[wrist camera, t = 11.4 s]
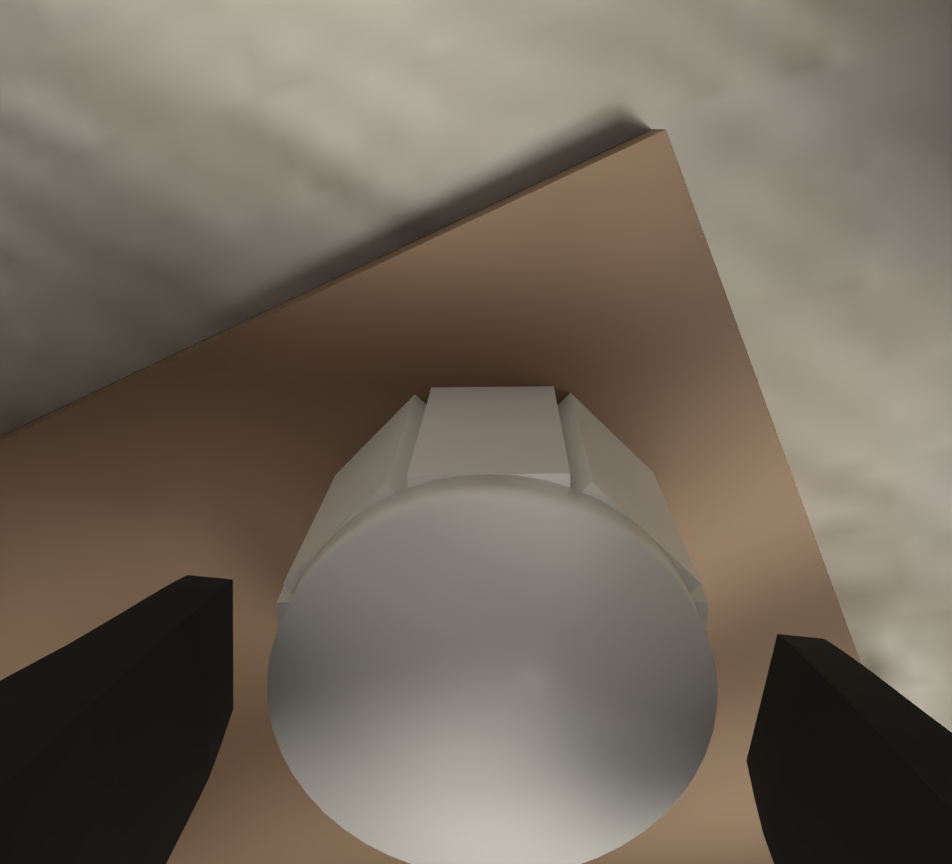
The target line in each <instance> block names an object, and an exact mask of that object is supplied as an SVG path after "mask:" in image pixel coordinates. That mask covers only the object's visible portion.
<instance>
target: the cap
mask: <svg viewBox="0 0 952 864" xmlns="http://www.w3.org/2000/svg"><path fill="white" fill-rule="evenodd" d="M283 585H284V587H283V589H282V592H281V594H280V596H279V598H278V600H277V602H276V605H277V614H278V623H279V627H278V630H277V632H276V635H275V639H274V643H273V646H272V650H271V654H270V658H269V667H268V676H267V694H268V708H269V713H270V718H271V723H272V728H273V731H274V734H275V737H276V740H277V742H278V745H279V748H280V751H281V753H282V755H283V757H284V759H285V761H286V763H287V764H288V766H289V768H290V770H291V772H292V774H293V775H294V777H295V778H296V780H297V781H298V782H299V784H300V785H301V786H302V788H303V789H304V791H305V792H306V793H307V795H308V796H309V797H310V798H311V799H312V800H313V801H314V802H315V803H316V804H317V805H318V807H319V808H320V809H321V810H322V811H323V812H324V813H325V814H326V815H328V816H329V817H330V818H331V819H332V820H334V821H335V822H336V823H337V824H338V825H339V826H341V827H342V828H343V829H344V830H346V831H347V832H349V833H350V834H352V835H353V836H355V837H356V838H358V839H359V840H361V841H363V842H364V843H366V844H367V845H369V846H371V847H373V848H375V849H377V850H379V851H381V852H383V853H385V854H387V855H389V856H392V857H394V858H397V859H399V860H402V861H405V862H407V863H410V864H582V863H585V862H588V861H590V860H593V859H596V858H598V857H600V856H602V855H604V854H606V853H608V852H610V851H613V850H615V849H617V848H619V847H621V846H622V845H624V844H625V843H627V842H629V841H630V840H632V839H633V838H635V837H636V836H638V835H639V834H641V833H642V832H644V831H645V830H646V829H647V828H649V827H650V826H651V825H652V824H653V823H655V822H656V821H657V820H658V819H659V818H661V817H662V816H663V815H664V814H665V813H666V812H667V811H668V809H669V808H670V807H671V806H672V805H673V804H674V803H675V802H676V801H677V800H678V799H679V798H680V796H681V795H682V793H683V792H684V791H685V789H686V788H687V786H688V785H689V784H690V782H691V781H692V779H693V778H694V776H695V774H696V772H697V770H698V768H699V766H700V764H701V763H702V761H703V759H704V757H705V755H706V752H707V749H708V746H709V743H710V740H711V737H712V734H713V730H714V724H715V718H716V712H717V697H718V681H717V674H716V668H715V661H714V656H713V653H712V649H711V646H710V643H709V640H708V637H707V633H706V628H707V616H708V604H709V602H708V600H707V597H706V595H705V593H704V590H703V588H702V586H701V582H700V580H699V577H698V575H697V573H696V570H695V568H694V566H693V563H692V561H691V559H690V556H689V554H688V552H687V549H686V547H685V545H684V542H683V540H682V538H681V535H680V533H679V531H678V528H677V526H676V524H675V521H674V519H673V517H672V515H671V512H670V510H669V508H668V505H667V503H666V501H665V498H664V496H663V494H662V491H661V489H660V487H659V484H658V482H657V480H656V477H655V475H654V473H653V472H652V471H651V470H650V469H649V468H648V467H647V466H646V465H645V464H644V463H643V462H642V461H641V460H640V459H639V458H638V457H637V456H636V455H635V454H634V453H633V452H632V451H631V450H630V449H629V448H627V447H626V446H625V445H624V444H623V443H622V442H621V441H620V440H619V439H618V438H617V437H616V436H615V435H614V434H613V433H612V432H611V431H610V430H609V429H608V428H607V427H606V426H605V425H604V424H603V423H601V422H600V421H599V420H598V419H597V418H596V417H595V416H594V415H593V414H592V413H591V412H590V411H589V410H588V409H587V408H586V407H585V406H584V405H583V404H582V403H581V402H580V401H579V400H578V399H577V398H575V397H574V396H573V395H572V394H571V393H570V394H569V395H568V396H567V397H566V398H564V399H563V400H562V401H561V402H560V403H559V404H558V405H557V400H556V395H555V390H554V386H530V387H431V390H430V394H429V398H428V401H427V405H426V404H425V403H424V402H423V401H422V400H421V399H420V398H419V397H418V396H416V395H414V396H413V397H412V398H411V399H410V400H409V401H408V402H407V403H406V404H405V405H404V406H403V407H402V408H401V409H400V410H399V411H398V412H397V413H396V414H395V415H394V416H393V417H392V418H391V419H390V420H389V421H388V422H387V423H386V424H385V425H384V426H383V427H382V428H381V429H380V430H379V431H378V432H377V433H376V434H375V435H374V436H373V437H372V438H371V439H370V440H369V441H368V442H367V443H366V444H365V445H364V446H363V447H362V448H361V449H360V450H359V451H358V452H357V453H356V454H355V456H354V457H353V458H352V459H351V460H350V461H349V462H348V463H347V464H346V465H345V466H344V467H343V468H342V469H341V470H340V471H339V472H338V473H337V474H336V475H335V477H334V479H333V481H332V484H331V486H330V488H329V490H328V492H327V494H326V496H325V498H324V500H323V502H322V504H321V506H320V508H319V510H318V512H317V515H316V517H315V519H314V521H313V523H312V525H311V527H310V529H309V531H308V533H307V535H306V537H305V539H304V541H303V543H302V546H301V548H300V550H299V552H298V554H297V556H296V558H295V560H294V562H293V564H292V566H291V568H290V570H289V572H288V574H287V577H286V579H285V581H284V583H283Z"/></svg>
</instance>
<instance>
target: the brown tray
mask: <svg viewBox="0 0 952 864" xmlns="http://www.w3.org/2000/svg"><path fill="white" fill-rule="evenodd" d="M530 386H554V390H555V395H556V400H557V405H558V404H559V403H560V402H561V401H562V400H563V399H564V398H566V397H567V396H568V395H569V394H570V393H571V394H572V395H573V396H574V397H575V398H577V399H578V400H579V401H580V402H581V403H582V404H583V405H584V406H585V407H586V408H587V409H588V410H589V411H590V412H591V413H592V414H593V415H594V416H595V417H596V418H597V419H598V420H599V421H600V422H601V423H603V424H604V425H605V426H606V427H607V428H608V429H609V430H610V431H611V432H612V433H613V434H614V435H615V436H616V437H617V438H618V439H619V440H620V441H621V442H622V443H623V444H624V445H625V446H626V447H627V448H629V449H630V450H631V451H632V452H633V453H634V454H635V455H636V456H637V457H638V458H639V459H640V460H641V461H642V462H643V463H644V464H645V465H646V466H647V467H648V468H649V469H650V470H651V471H652V472H653V473H654V475H655V477H656V480H657V482H658V484H659V487H660V489H661V491H662V494H663V496H664V498H665V501H666V503H667V505H668V508H669V510H670V512H671V515H672V517H673V519H674V521H675V524H676V526H677V528H678V531H679V533H680V535H681V538H682V540H683V542H684V545H685V547H686V549H687V552H688V554H689V556H690V559H691V561H692V563H693V566H694V568H695V570H696V573H697V575H698V577H699V580H700V582H701V586H702V588H703V590H704V593H705V595H706V597H707V600H708V602H709V604H708V616H707V628H706V633H707V637H708V640H709V643H710V646H711V649H712V653H713V656H714V661H715V668H716V674H717V681H718V697H717V712H716V718H715V724H714V730H713V734H712V737H711V740H710V743H709V746H708V749H707V752H706V755H705V757H704V759H703V761H702V763H701V764H700V766H699V768H698V770H697V772H696V774H695V776H694V778H693V779H692V781H691V782H690V784H689V785H688V786H687V788H686V789H685V791H684V792H683V793H682V795H681V796H680V798H679V799H678V800H677V801H676V802H675V803H674V804H673V805H672V806H671V807H670V808H669V809H668V811H667V812H666V813H665V814H664V815H663V816H662V817H661V818H659V819H658V820H657V821H656V822H655V823H653V824H652V825H651V826H650V827H649V828H647V829H646V830H645V831H644V832H642V833H641V834H639V835H638V836H636V837H635V838H633V839H632V840H630V841H629V842H627V843H625V844H624V845H622V846H621V847H619V848H617V849H615V850H613V851H610V852H608V853H606V854H604V855H602V856H600V857H598V858H596V859H593V860H590V861H588V862H585V863H582V864H774V862H773V860H772V857H771V854H770V851H769V849H768V846H767V843H766V840H765V837H764V835H763V831H762V827H761V823H760V819H759V815H758V811H757V807H756V803H755V798H754V794H753V789H752V784H751V780H750V775H749V770H748V766H747V761H746V760H747V756H748V752H749V748H750V744H751V740H752V736H753V732H754V728H755V723H756V719H757V715H758V711H759V707H760V703H761V699H762V695H763V691H764V687H765V683H766V678H767V674H768V670H769V666H770V662H771V658H772V654H773V650H774V646H775V642H776V638H777V634H783V635H793V636H803V637H813V638H823V639H825V640H827V641H829V642H830V643H832V644H833V645H835V646H836V647H838V648H839V649H841V650H842V651H844V652H845V653H847V654H848V655H849V656H851V657H852V658H854V659H855V660H856V661H858V662H859V663H860V660H859V657H858V655H857V652H856V649H855V646H854V644H853V641H852V638H851V635H850V633H849V630H848V627H847V625H846V622H845V619H844V616H843V614H842V611H841V608H840V605H839V603H838V600H837V597H836V594H835V592H834V589H833V586H832V584H831V581H830V578H829V575H828V573H827V570H826V567H825V564H824V562H823V559H822V556H821V553H820V551H819V548H818V545H817V543H816V540H815V537H814V534H813V532H812V529H811V526H810V523H809V521H808V518H807V515H806V512H805V510H804V507H803V504H802V501H801V499H800V496H799V493H798V491H797V488H796V485H795V482H794V480H793V477H792V474H791V471H790V469H789V466H788V463H787V460H786V458H785V455H784V452H783V450H782V447H781V444H780V441H779V439H778V436H777V433H776V430H775V428H774V425H773V422H772V419H771V417H770V414H769V411H768V409H767V406H766V403H765V400H764V398H763V395H762V392H761V389H760V387H759V384H758V381H757V378H756V376H755V373H754V370H753V367H752V365H751V362H750V359H749V357H748V354H747V351H746V348H745V346H744V343H743V340H742V337H741V335H740V332H739V329H738V326H737V324H736V321H735V318H734V316H733V313H732V310H731V307H730V305H729V302H728V299H727V296H726V294H725V291H724V288H723V285H722V283H721V280H720V277H719V275H718V272H717V269H716V266H715V264H714V261H713V258H712V255H711V253H710V250H709V247H708V244H707V242H706V239H705V236H704V233H703V231H702V228H701V225H700V223H699V220H698V217H697V214H696V212H695V209H694V206H693V203H692V201H691V198H690V195H689V192H688V190H687V187H686V184H685V182H684V179H683V176H682V173H681V171H680V168H679V165H678V162H677V160H676V157H675V154H674V151H673V149H672V146H671V143H670V141H669V138H668V135H667V132H666V130H661V129H652V130H650V131H648V132H645V133H643V134H641V135H639V136H637V137H635V138H633V139H631V140H628V141H626V142H624V143H622V144H620V145H618V146H616V147H614V148H611V149H609V150H607V151H605V152H603V153H601V154H599V155H597V156H594V157H592V158H590V159H588V160H586V161H584V162H582V163H580V164H577V165H575V166H573V167H571V168H569V169H567V170H565V171H563V172H560V173H558V174H556V175H554V176H552V177H550V178H548V179H546V180H543V181H541V182H539V183H537V184H535V185H533V186H531V187H529V188H526V189H524V190H522V191H520V192H518V193H516V194H514V195H512V196H509V197H507V198H505V199H503V200H501V201H499V202H497V203H495V204H492V205H490V206H488V207H486V208H484V209H482V210H480V211H478V212H476V213H473V214H471V215H469V216H467V217H465V218H463V219H461V220H459V221H456V222H454V223H452V224H450V225H448V226H446V227H444V228H442V229H439V230H437V231H435V232H433V233H431V234H429V235H427V236H425V237H422V238H420V239H418V240H416V241H414V242H412V243H410V244H408V245H405V246H403V247H401V248H399V249H397V250H395V251H393V252H391V253H388V254H386V255H384V256H382V257H380V258H378V259H376V260H374V261H371V262H369V263H367V264H365V265H363V266H361V267H359V268H357V269H354V270H352V271H350V272H348V273H346V274H344V275H342V276H340V277H337V278H335V279H333V280H331V281H329V282H327V283H325V284H323V285H320V286H318V287H316V288H314V289H312V290H310V291H308V292H306V293H304V294H301V295H299V296H297V297H295V298H293V299H291V300H289V301H287V302H284V303H282V304H280V305H278V306H276V307H274V308H272V309H270V310H267V311H265V312H263V313H261V314H259V315H257V316H255V317H253V318H250V319H248V320H246V321H244V322H242V323H240V324H238V325H236V326H233V327H231V328H229V329H227V330H225V331H223V332H221V333H219V334H216V335H214V336H212V337H210V338H208V339H206V340H204V341H202V342H199V343H197V344H195V345H193V346H191V347H189V348H187V349H185V350H182V351H180V352H178V353H176V354H174V355H172V356H170V357H168V358H165V359H163V360H161V361H159V362H157V363H155V364H153V365H151V366H148V367H146V368H144V369H142V370H140V371H138V372H136V373H134V374H132V375H129V376H127V377H125V378H123V379H121V380H119V381H117V382H115V383H112V384H110V385H108V386H106V387H104V388H102V389H100V390H98V391H95V392H93V393H91V394H89V395H87V396H85V397H83V398H81V399H78V400H76V401H74V402H72V403H70V404H68V405H66V406H64V407H61V408H59V409H57V410H55V411H53V412H51V413H49V414H47V415H44V416H42V417H40V418H38V419H36V420H34V421H32V422H30V423H27V424H25V425H23V426H21V427H19V428H17V429H15V430H13V431H10V432H8V433H6V434H4V435H2V436H0V680H2V679H4V678H6V677H8V676H10V675H11V674H13V673H15V672H17V671H19V670H21V669H23V668H25V667H26V666H28V665H30V664H32V663H34V662H36V661H38V660H40V659H41V658H43V657H45V656H47V655H49V654H51V653H53V652H55V651H56V650H58V649H60V648H62V647H64V646H66V645H68V644H69V643H71V642H73V641H75V640H76V639H78V638H80V637H81V636H83V635H85V634H86V633H88V632H90V631H92V630H93V629H95V628H97V627H98V626H100V625H102V624H103V623H105V622H107V621H109V620H110V619H112V618H114V617H115V616H117V615H119V614H120V613H122V612H124V611H125V610H127V609H129V608H130V607H132V606H134V605H135V604H137V603H139V602H140V601H142V600H144V599H145V598H147V597H149V596H150V595H152V594H154V593H155V592H157V591H159V590H160V589H162V588H164V587H166V586H167V585H169V584H171V583H173V582H174V581H176V580H178V579H180V578H182V577H184V576H186V575H193V576H203V577H213V578H223V579H233V712H232V715H231V718H230V720H229V723H228V726H227V729H226V732H225V735H224V738H223V741H222V744H221V747H220V750H219V752H218V755H217V758H216V761H215V763H214V766H213V769H212V771H211V774H210V777H209V779H208V781H207V783H206V785H205V787H204V789H203V791H202V794H201V796H200V798H199V800H198V802H197V804H196V806H195V808H194V810H193V812H192V814H191V816H190V818H189V820H188V822H187V824H186V826H185V828H184V830H183V832H182V834H181V835H180V837H179V839H178V841H177V843H176V845H175V847H174V849H173V851H172V853H171V855H170V857H169V859H168V861H167V863H166V864H410V863H407V862H405V861H402V860H399V859H397V858H394V857H392V856H389V855H387V854H385V853H383V852H381V851H379V850H377V849H375V848H373V847H371V846H369V845H367V844H366V843H364V842H363V841H361V840H359V839H358V838H356V837H355V836H353V835H352V834H350V833H349V832H347V831H346V830H344V829H343V828H342V827H341V826H339V825H338V824H337V823H336V822H335V821H334V820H332V819H331V818H330V817H329V816H328V815H326V814H325V813H324V812H323V811H322V810H321V809H320V808H319V807H318V805H317V804H316V803H315V802H314V801H313V800H312V799H311V798H310V797H309V796H308V795H307V793H306V792H305V791H304V789H303V788H302V786H301V785H300V784H299V782H298V781H297V780H296V778H295V777H294V775H293V774H292V772H291V770H290V768H289V766H288V764H287V763H286V761H285V759H284V757H283V755H282V753H281V751H280V748H279V745H278V742H277V740H276V737H275V734H274V731H273V728H272V723H271V718H270V713H269V708H268V694H267V676H268V667H269V658H270V654H271V650H272V646H273V643H274V639H275V635H276V632H277V630H278V627H279V623H278V614H277V605H276V602H277V600H278V598H279V596H280V594H281V592H282V589H283V587H284V585H283V583H284V581H285V579H286V577H287V574H288V572H289V570H290V568H291V566H292V564H293V562H294V560H295V558H296V556H297V554H298V552H299V550H300V548H301V546H302V543H303V541H304V539H305V537H306V535H307V533H308V531H309V529H310V527H311V525H312V523H313V521H314V519H315V517H316V515H317V512H318V510H319V508H320V506H321V504H322V502H323V500H324V498H325V496H326V494H327V492H328V490H329V488H330V486H331V484H332V481H333V479H334V477H335V475H336V474H337V473H338V472H339V471H340V470H341V469H342V468H343V467H344V466H345V465H346V464H347V463H348V462H349V461H350V460H351V459H352V458H353V457H354V456H355V454H356V453H357V452H358V451H359V450H360V449H361V448H362V447H363V446H364V445H365V444H366V443H367V442H368V441H369V440H370V439H371V438H372V437H373V436H374V435H375V434H376V433H377V432H378V431H379V430H380V429H381V428H382V427H383V426H384V425H385V424H386V423H387V422H388V421H389V420H390V419H391V418H392V417H393V416H394V415H395V414H396V413H397V412H398V411H399V410H400V409H401V408H402V407H403V406H404V405H405V404H406V403H407V402H408V401H409V400H410V399H411V398H412V397H413V396H414V395H416V396H418V397H419V398H420V399H421V400H422V401H423V402H424V403H425V404H426V405H427V401H428V398H429V394H430V390H431V387H530ZM860 664H861V663H860Z"/></svg>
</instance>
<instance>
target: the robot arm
mask: <svg viewBox="0 0 952 864" xmlns="http://www.w3.org/2000/svg"><path fill="white" fill-rule="evenodd" d="M232 712H233V579H223V578H213V577H203V576H193V575H186V576H184V577H182V578H180V579H178V580H176V581H174V582H173V583H171V584H169V585H167V586H166V587H164V588H162V589H160V590H159V591H157V592H155V593H154V594H152V595H150V596H149V597H147V598H145V599H144V600H142V601H140V602H139V603H137V604H135V605H134V606H132V607H130V608H129V609H127V610H125V611H124V612H122V613H120V614H119V615H117V616H115V617H114V618H112V619H110V620H109V621H107V622H105V623H103V624H102V625H100V626H98V627H97V628H95V629H93V630H92V631H90V632H88V633H86V634H85V635H83V636H81V637H80V638H78V639H76V640H75V641H73V642H71V643H69V644H68V645H66V646H64V647H62V648H60V649H58V650H56V651H55V652H53V653H51V654H49V655H47V656H45V657H43V658H41V659H40V660H38V661H36V662H34V663H32V664H30V665H28V666H26V667H25V668H23V669H21V670H19V671H17V672H15V673H13V674H11V675H10V676H8V677H6V678H4V679H2V680H0V864H166V863H167V861H168V859H169V857H170V855H171V853H172V851H173V849H174V847H175V845H176V843H177V841H178V839H179V837H180V835H181V834H182V832H183V830H184V828H185V826H186V824H187V822H188V820H189V818H190V816H191V814H192V812H193V810H194V808H195V806H196V804H197V802H198V800H199V798H200V796H201V794H202V791H203V789H204V787H205V785H206V783H207V781H208V779H209V777H210V774H211V771H212V769H213V766H214V763H215V761H216V758H217V755H218V752H219V750H220V747H221V744H222V741H223V738H224V735H225V732H226V729H227V726H228V723H229V720H230V718H231V715H232ZM746 761H747V766H748V770H749V775H750V780H751V784H752V789H753V794H754V798H755V803H756V807H757V811H758V815H759V819H760V823H761V827H762V831H763V835H764V837H765V840H766V843H767V846H768V849H769V851H770V854H771V857H772V860H773V862H774V864H952V733H951V732H950V731H949V730H947V729H946V728H945V727H943V726H942V725H941V724H939V723H938V722H937V721H935V720H934V719H933V718H931V717H930V716H929V715H927V714H926V713H925V712H923V711H922V710H921V709H919V708H918V707H917V706H915V705H914V704H913V703H912V702H910V701H909V700H908V699H906V698H905V697H904V696H902V695H901V694H900V693H898V692H897V691H896V690H895V689H893V688H892V687H891V686H889V685H888V684H887V683H885V682H884V681H883V680H881V679H880V678H879V677H878V676H876V675H875V674H874V673H872V672H871V671H870V670H868V669H867V668H866V667H864V666H863V665H862V664H860V663H859V662H858V661H856V660H855V659H854V658H852V657H851V656H849V655H848V654H847V653H845V652H844V651H842V650H841V649H839V648H838V647H836V646H835V645H833V644H832V643H830V642H829V641H827V640H825V639H823V638H813V637H803V636H793V635H783V634H777V638H776V642H775V646H774V650H773V654H772V658H771V662H770V666H769V670H768V674H767V678H766V683H765V687H764V691H763V695H762V699H761V703H760V707H759V711H758V715H757V719H756V723H755V728H754V732H753V736H752V740H751V744H750V748H749V752H748V756H747V760H746Z"/></svg>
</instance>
